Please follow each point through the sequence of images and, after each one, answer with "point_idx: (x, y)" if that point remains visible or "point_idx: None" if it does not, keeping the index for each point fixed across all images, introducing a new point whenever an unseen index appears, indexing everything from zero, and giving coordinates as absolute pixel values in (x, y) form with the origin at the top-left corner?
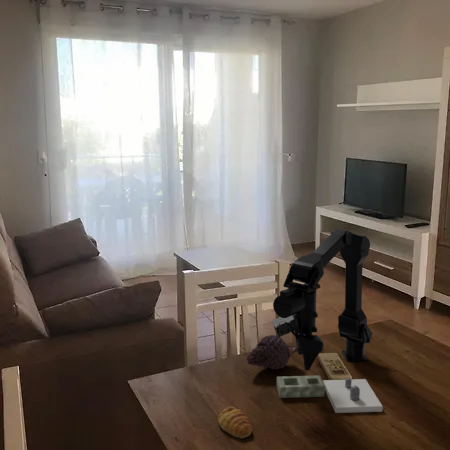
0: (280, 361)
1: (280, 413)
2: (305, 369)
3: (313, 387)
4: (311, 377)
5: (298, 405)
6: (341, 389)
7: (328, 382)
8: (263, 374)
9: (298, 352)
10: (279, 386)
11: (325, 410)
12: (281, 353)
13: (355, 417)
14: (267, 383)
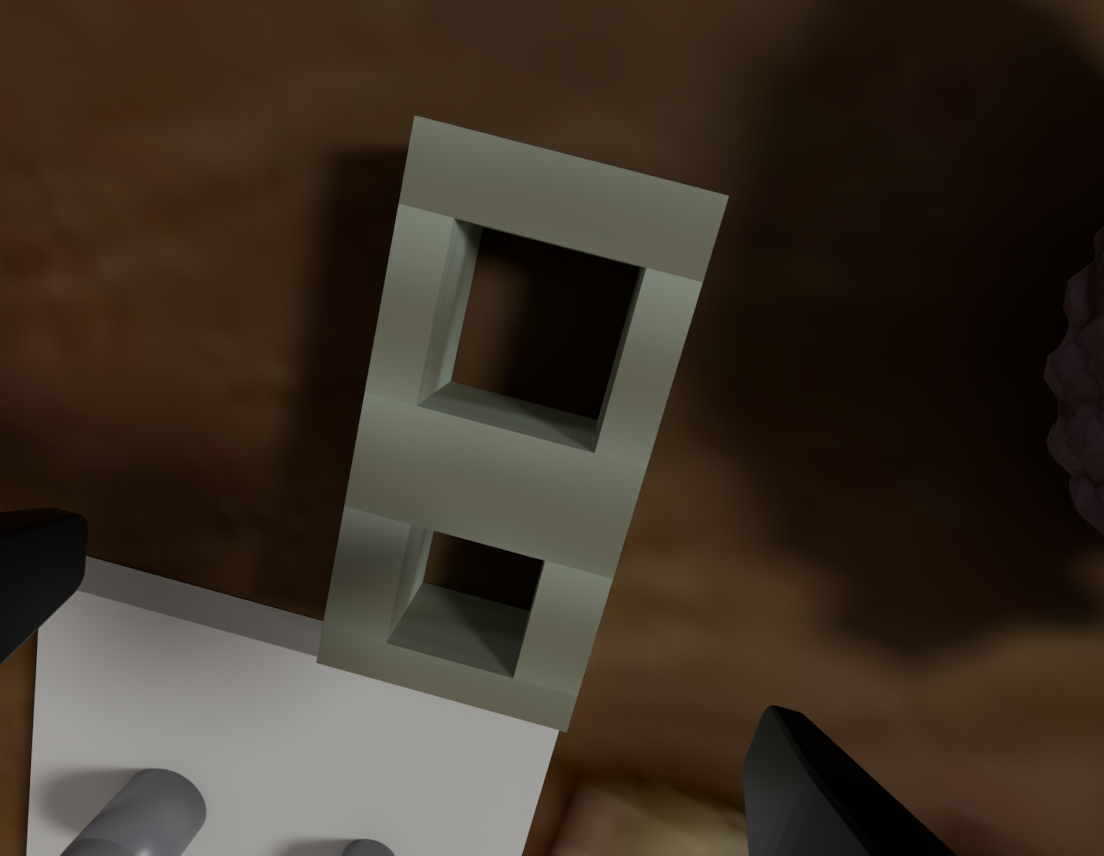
0: (1084, 408)
1: (150, 22)
2: (36, 514)
3: (340, 542)
4: (550, 627)
5: (264, 286)
6: (341, 788)
7: (500, 750)
8: (1072, 160)
9: (781, 730)
10: (463, 129)
11: (138, 494)
12: None
13: (7, 667)
14: (823, 124)
